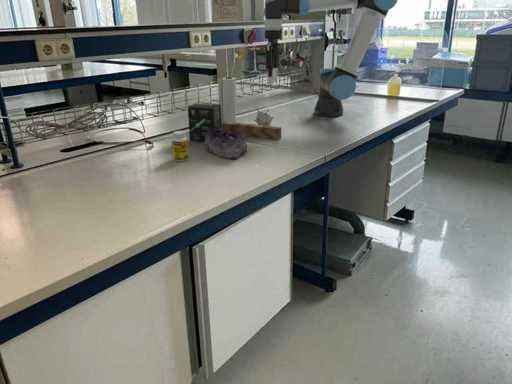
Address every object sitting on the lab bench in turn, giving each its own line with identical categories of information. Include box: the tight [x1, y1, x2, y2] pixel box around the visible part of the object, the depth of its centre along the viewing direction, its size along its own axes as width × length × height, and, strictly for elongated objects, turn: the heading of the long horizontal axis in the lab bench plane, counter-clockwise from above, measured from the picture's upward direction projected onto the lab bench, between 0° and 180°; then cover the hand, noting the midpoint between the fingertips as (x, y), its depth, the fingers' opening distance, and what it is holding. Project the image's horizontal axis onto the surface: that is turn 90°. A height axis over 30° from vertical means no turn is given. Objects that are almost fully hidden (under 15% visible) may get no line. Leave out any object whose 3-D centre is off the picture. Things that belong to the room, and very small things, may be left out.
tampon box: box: [187, 102, 222, 144], centre depth 173 cm, size 11×9×15 cm
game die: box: [253, 109, 275, 126], centre depth 192 cm, size 9×8×10 cm
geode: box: [204, 126, 248, 160], centre depth 159 cm, size 20×12×10 cm, turn 48°
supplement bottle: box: [171, 130, 189, 163], centre depth 151 cm, size 6×6×10 cm
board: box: [222, 122, 282, 142], centre depth 179 cm, size 26×3×5 cm, turn 69°
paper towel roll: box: [217, 76, 237, 123], centre depth 196 cm, size 7×6×21 cm
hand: (272, 82), depth 196 cm, fingers open, 4 cm apart
